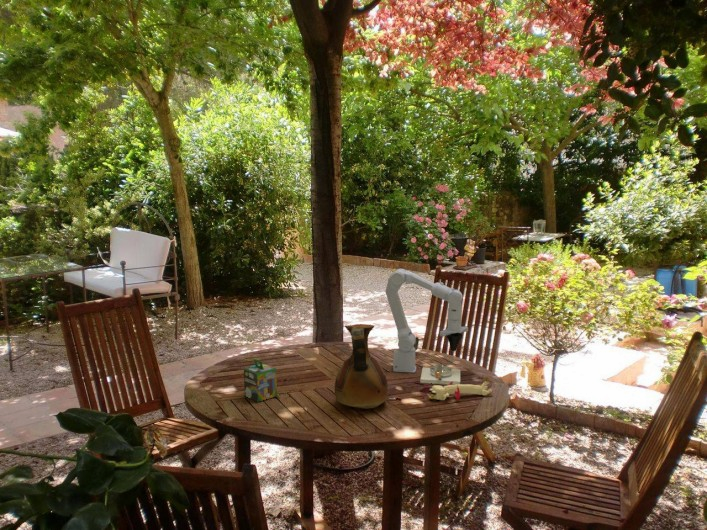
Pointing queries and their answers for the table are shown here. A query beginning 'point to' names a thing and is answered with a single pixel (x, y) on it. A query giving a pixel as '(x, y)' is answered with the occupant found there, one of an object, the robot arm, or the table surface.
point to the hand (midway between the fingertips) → (453, 350)
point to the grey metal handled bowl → (440, 371)
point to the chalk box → (260, 381)
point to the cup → (416, 343)
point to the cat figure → (459, 390)
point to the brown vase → (361, 373)
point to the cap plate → (429, 378)
